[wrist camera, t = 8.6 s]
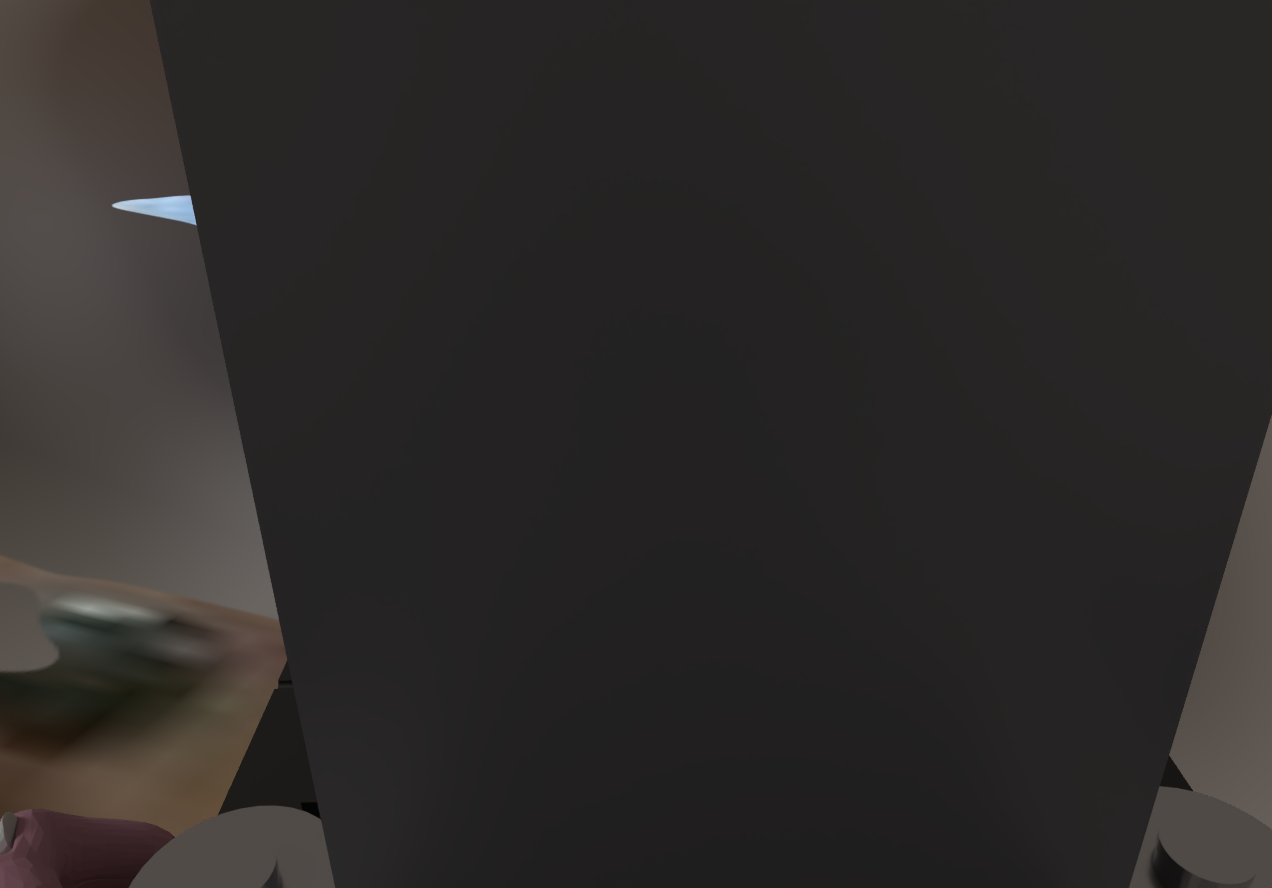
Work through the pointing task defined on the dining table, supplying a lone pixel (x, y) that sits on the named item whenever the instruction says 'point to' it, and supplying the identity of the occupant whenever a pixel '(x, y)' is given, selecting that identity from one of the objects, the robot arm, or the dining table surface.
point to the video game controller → (74, 850)
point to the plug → (737, 419)
